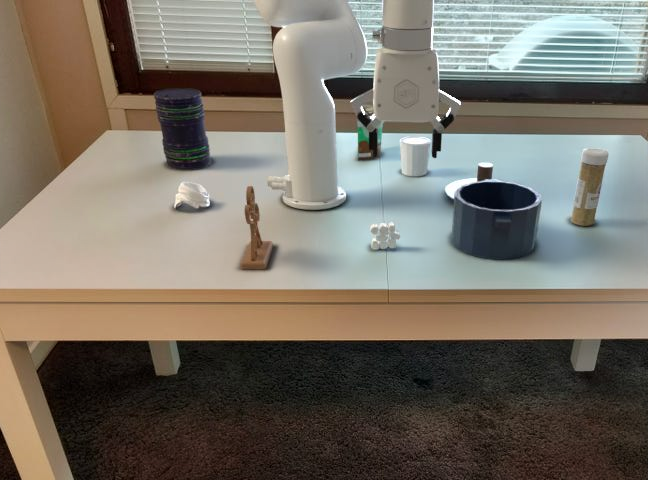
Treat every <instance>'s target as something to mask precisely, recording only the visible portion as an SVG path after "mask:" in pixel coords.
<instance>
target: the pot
mask: <svg viewBox="0 0 648 480" xmlns="http://www.w3.org/2000/svg"><path fill="white" fill-rule="evenodd" d="M542 203H543V198H542V196H541V194H540V192H538V191H537V190H535V189H534V188H532V187H530V186H527V185H524V184H521V183H518V182H511V181H504V180H499V179H495V178H494V179H493V178H492V179H485V181H477V182H470V183H467V184H464V185H461V186H459V187H458V188H457V189H456V190H455V193H454V201H453V206H452V222H451V243H452V244H453V246H455V248H456V249H458V250H459V251H461V252H462V253H465V254H466V255H470V256H473V257H477V258H481V259H487V260H513V259H517V258H521V257H524V256H526V255H528V254H530V253H531V252H532V251H533V250H534V248H535V245H536V243H537V236H538V230H539V223H540V217H541V211H542V210H541V209H542Z"/></svg>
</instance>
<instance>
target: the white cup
mask: <svg viewBox="0 0 648 480" xmlns="http://www.w3.org/2000/svg"><path fill="white" fill-rule="evenodd" d="M431 146H432V139H431V140H430V139H429V138H426V137H422V136H405V137H402V138H400V139H399V151H400V164H401V168H400V169H401V174H402V175H404V176H407V177H422V176H426V175H427V173H428V165H429V159H430V152H431Z"/></svg>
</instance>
